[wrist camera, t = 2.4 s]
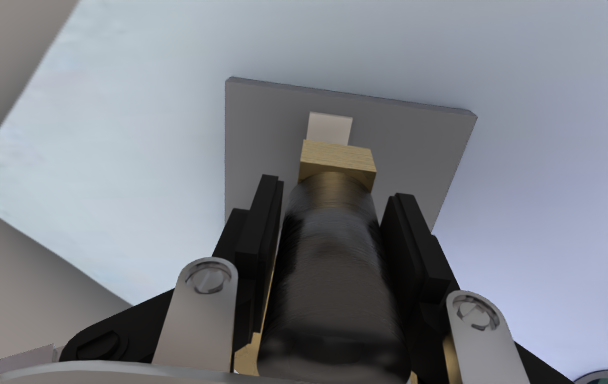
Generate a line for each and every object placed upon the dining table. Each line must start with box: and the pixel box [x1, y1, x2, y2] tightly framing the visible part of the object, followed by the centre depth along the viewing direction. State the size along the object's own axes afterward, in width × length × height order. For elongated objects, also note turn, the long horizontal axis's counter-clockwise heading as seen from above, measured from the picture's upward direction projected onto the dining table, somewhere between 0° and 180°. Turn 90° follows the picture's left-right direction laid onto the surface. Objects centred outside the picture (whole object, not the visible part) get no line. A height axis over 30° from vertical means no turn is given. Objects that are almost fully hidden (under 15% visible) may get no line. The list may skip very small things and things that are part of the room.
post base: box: [225, 77, 478, 256], centre depth 21 cm, size 14×20×7 cm
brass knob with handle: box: [234, 140, 412, 384], centre depth 13 cm, size 8×14×8 cm, turn 173°
